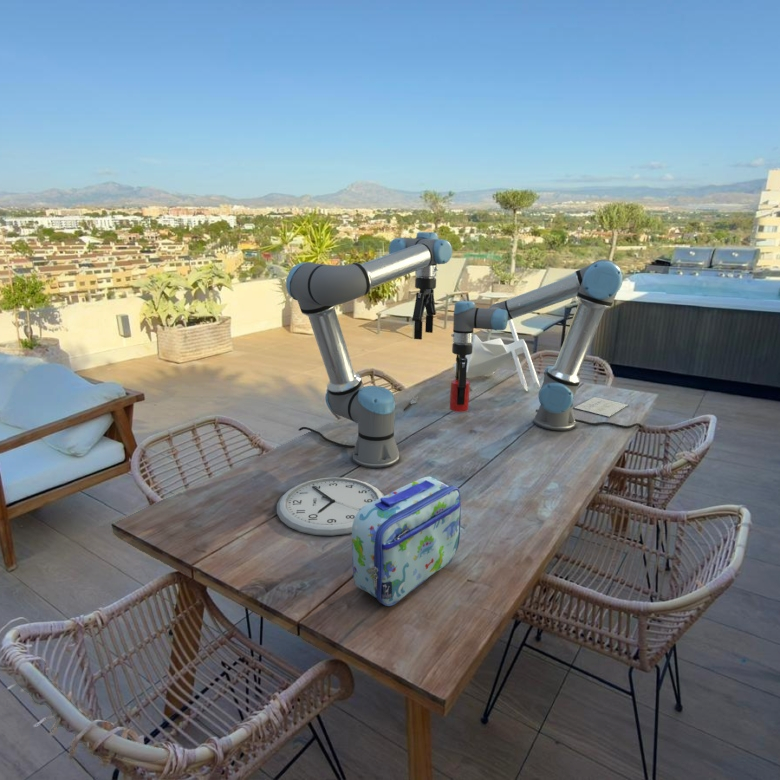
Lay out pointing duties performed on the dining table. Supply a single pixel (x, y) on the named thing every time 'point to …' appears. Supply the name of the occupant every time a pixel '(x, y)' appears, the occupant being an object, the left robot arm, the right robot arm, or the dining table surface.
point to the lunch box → (405, 538)
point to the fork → (411, 403)
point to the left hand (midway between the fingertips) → (423, 335)
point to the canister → (454, 397)
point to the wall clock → (325, 505)
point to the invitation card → (601, 406)
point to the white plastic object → (498, 357)
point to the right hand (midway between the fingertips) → (459, 401)
